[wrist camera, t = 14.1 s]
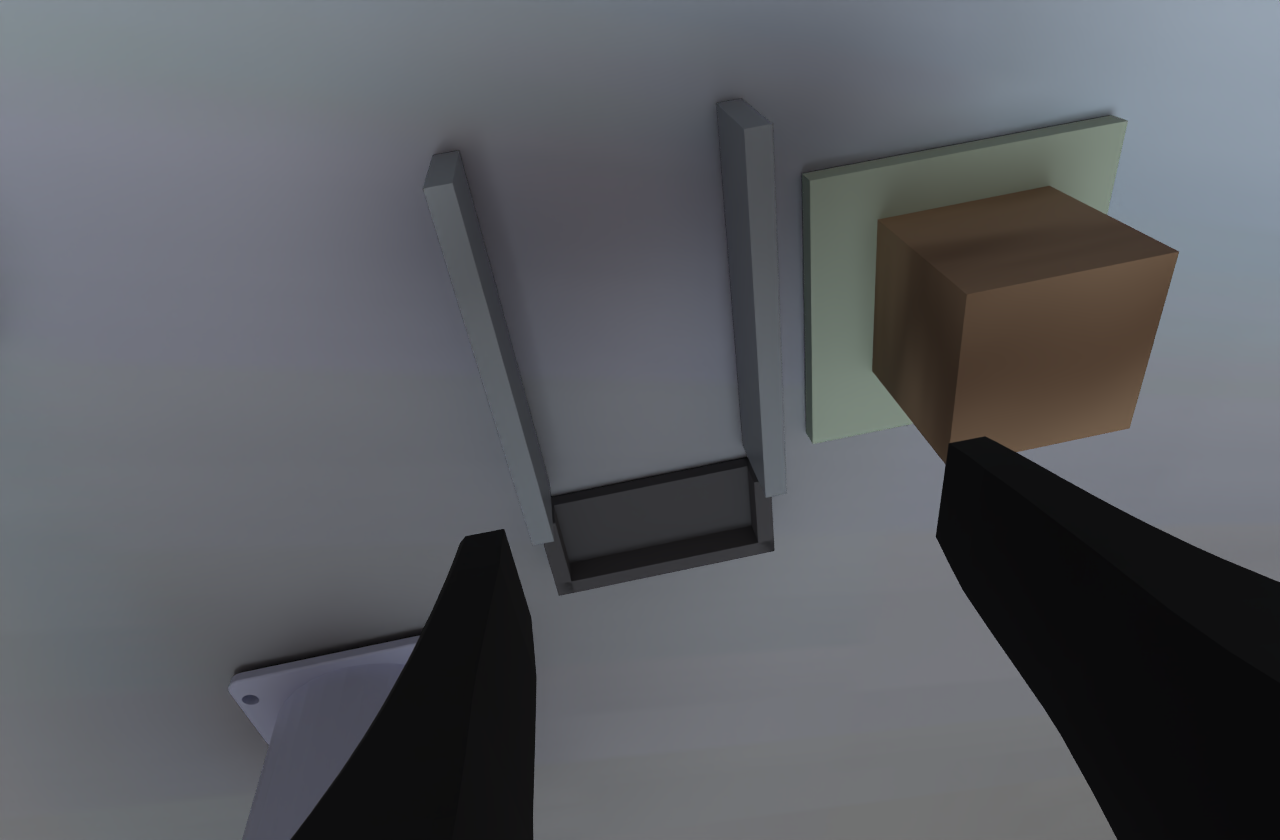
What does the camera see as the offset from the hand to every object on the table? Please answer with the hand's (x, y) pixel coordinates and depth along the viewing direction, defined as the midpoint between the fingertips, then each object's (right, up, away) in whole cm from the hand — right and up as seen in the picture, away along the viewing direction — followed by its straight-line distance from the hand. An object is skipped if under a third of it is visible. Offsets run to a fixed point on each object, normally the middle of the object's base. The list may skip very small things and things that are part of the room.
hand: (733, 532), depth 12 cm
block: (+7, +5, +8) cm, 12 cm away
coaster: (+7, +5, +9) cm, 13 cm away
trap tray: (-1, -1, +12) cm, 12 cm away
